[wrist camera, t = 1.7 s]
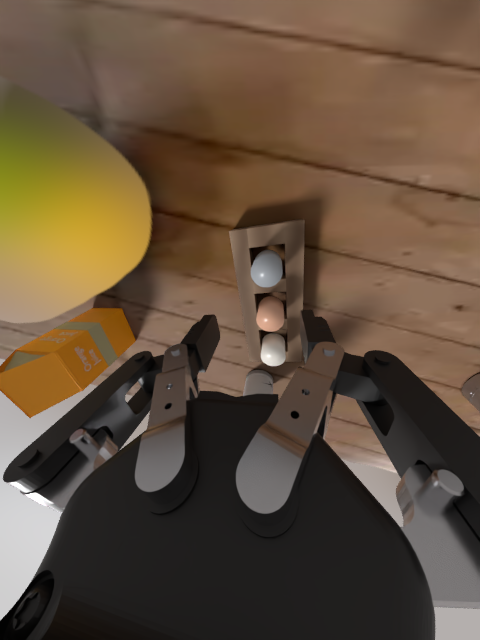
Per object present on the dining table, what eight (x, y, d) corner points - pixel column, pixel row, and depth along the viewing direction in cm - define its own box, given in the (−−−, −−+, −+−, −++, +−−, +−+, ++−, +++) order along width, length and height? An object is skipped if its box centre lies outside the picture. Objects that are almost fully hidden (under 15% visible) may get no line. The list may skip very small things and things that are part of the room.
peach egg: (283, 295, 29) (283, 306, 26) (283, 317, 31) (284, 331, 28) (257, 297, 30) (254, 308, 27) (259, 318, 32) (257, 331, 29)
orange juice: (122, 308, 40) (9, 380, 23) (136, 341, 45) (50, 422, 28) (91, 307, 42) (-35, 375, 25) (108, 339, 46) (11, 415, 29)
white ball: (284, 332, 32) (285, 347, 29) (285, 350, 34) (285, 366, 31) (261, 333, 33) (259, 347, 30) (263, 350, 35) (261, 365, 32)
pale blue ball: (281, 248, 26) (281, 254, 22) (282, 276, 28) (283, 286, 24) (252, 251, 27) (248, 258, 23) (255, 278, 28) (252, 288, 25)
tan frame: (302, 218, 26) (304, 220, 24) (300, 351, 38) (301, 362, 35) (233, 229, 29) (228, 231, 26) (251, 351, 40) (249, 361, 38)
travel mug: (274, 369, 42) (271, 479, 25) (272, 389, 45) (269, 498, 28) (246, 366, 43) (225, 470, 26) (246, 386, 46) (228, 489, 29)
